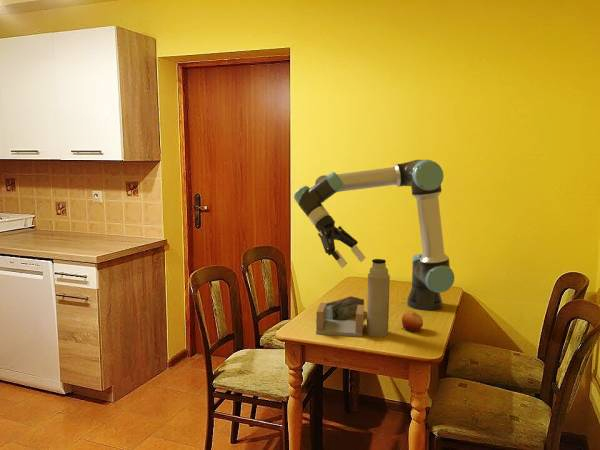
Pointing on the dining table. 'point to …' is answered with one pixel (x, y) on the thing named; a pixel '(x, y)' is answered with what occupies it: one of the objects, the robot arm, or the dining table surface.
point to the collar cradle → (339, 323)
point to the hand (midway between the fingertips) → (354, 262)
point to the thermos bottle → (378, 299)
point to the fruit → (412, 321)
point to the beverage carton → (343, 308)
